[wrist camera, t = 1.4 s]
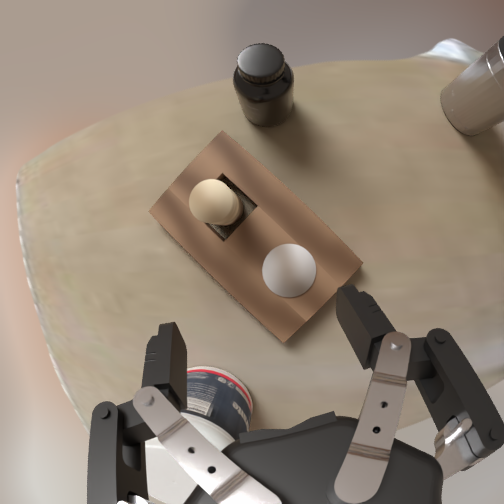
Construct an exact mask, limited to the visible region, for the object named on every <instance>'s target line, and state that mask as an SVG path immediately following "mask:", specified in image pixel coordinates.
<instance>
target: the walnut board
mask: <svg viewBox="0 0 504 504" xmlns="http://www.w3.org/2000/svg"><path fill="white" fill-rule="evenodd" d="M225 177H227V178H228V179H229V180H230V181H231V182H232V183H233V184H235V185H236V186H237V187H238V188H239V189H240V190H241V191H242V192H243V193H244V194H245V195H246V196H248V197H249V198H250V199H251V200H252V201H253V202H254V203H255V204H256V205H257V207H256V208H255V209H254V210H253V212H252V213H251V214H250V215H249V216H248V217H247V218H246V219H245V220H244V221H243V222H242V223H241V224H240V225H239V226H238V227H237V228H236V230H235V231H234V232H233V233H232V234H231V235H230V236H229V237H228V238H227V239H226V240H225V239H224V238H223V237H222V236H221V235H220V234H219V233H218V232H217V231H216V230H215V229H214V228H213V227H212V226H211V225H209V224H208V223H204V222H201V221H199V220H198V219H197V218H195V216H194V215H193V214H192V212H191V210H190V206H189V198H190V194H191V192H192V190H193V188H194V187H195V186H196V185H197V184H198V183H200V182H202V181H204V180H208V179H215V180H219V181H222V180H223V179H224V178H225ZM148 212H149V213H150V214H151V215H152V216H153V217H154V218H155V219H156V220H157V221H158V222H159V223H160V224H161V225H162V226H163V227H164V228H165V229H166V230H167V231H168V232H169V234H170V235H171V236H172V237H173V238H174V239H175V240H176V241H177V242H178V243H179V244H180V245H181V246H182V247H183V248H184V249H185V250H186V251H187V252H188V253H189V254H190V255H191V256H192V257H193V258H194V259H195V260H196V261H197V262H198V263H199V264H200V265H201V266H202V267H203V268H204V269H205V270H206V271H207V272H208V273H209V274H210V275H211V276H212V277H213V278H215V279H216V280H217V281H218V282H219V283H220V284H221V285H222V286H223V287H224V288H225V289H226V290H227V291H228V292H229V293H230V294H231V295H232V296H233V297H234V298H235V299H236V300H237V301H238V302H240V303H241V304H242V305H243V306H244V307H245V308H246V309H247V310H248V311H249V312H250V313H251V314H252V315H253V316H254V317H256V318H257V319H258V320H259V321H260V322H261V323H262V324H263V325H264V326H265V327H266V328H267V329H269V330H270V331H271V332H272V333H273V334H274V335H275V336H276V337H277V338H278V339H280V340H281V341H282V342H283V343H284V342H285V341H286V340H287V339H288V338H289V337H291V336H292V335H293V334H294V333H295V332H296V331H297V330H298V329H299V328H300V327H301V326H302V325H303V324H304V323H305V322H306V321H307V320H309V319H310V318H311V317H312V316H313V315H314V314H315V313H316V312H317V311H318V310H319V309H320V308H321V307H322V306H323V305H324V304H325V303H326V302H327V301H328V300H329V299H330V298H331V297H332V296H333V295H334V294H335V293H336V292H337V289H338V287H341V286H342V285H343V284H344V283H345V282H346V281H347V280H348V279H349V278H350V277H351V276H352V275H353V274H354V273H355V272H356V271H357V269H358V268H359V267H360V266H361V265H362V264H363V262H362V261H361V260H360V259H359V258H358V257H357V256H356V255H355V254H354V253H353V252H352V250H351V249H350V248H349V247H348V246H347V245H346V244H345V243H344V242H343V241H342V240H341V239H340V238H339V237H338V236H337V235H336V234H335V233H334V232H333V231H332V230H331V229H330V228H329V227H328V226H327V225H326V224H325V223H324V222H323V221H322V220H321V219H320V218H319V217H318V216H317V215H316V214H315V213H314V212H313V211H312V210H311V209H310V208H309V207H308V206H307V205H306V204H304V203H303V202H302V201H301V200H300V199H299V198H298V197H297V196H296V195H295V194H294V193H293V192H292V191H291V190H290V189H289V188H287V187H286V186H285V185H284V184H283V183H282V182H281V181H280V180H279V179H278V178H277V177H276V176H274V175H273V174H272V173H271V172H270V171H269V170H268V169H267V168H266V167H264V166H263V165H262V164H261V163H260V162H259V161H258V160H256V159H255V158H254V157H253V156H252V155H251V154H250V153H248V152H247V151H246V150H245V149H244V148H243V147H242V146H240V145H239V144H238V143H237V142H236V141H234V140H233V139H232V138H231V137H230V136H229V135H227V134H226V133H225V132H224V131H221V132H220V133H219V134H218V135H217V136H216V137H215V138H214V139H213V140H212V141H211V142H210V143H209V144H208V145H207V146H206V147H205V148H204V149H203V150H202V151H201V152H200V153H199V154H198V156H197V157H196V158H195V159H194V160H193V161H192V162H191V163H190V164H189V165H188V166H187V167H186V168H185V170H184V171H183V172H182V173H181V174H180V175H179V176H178V177H177V178H176V180H175V181H174V182H173V183H172V184H171V185H170V186H169V188H168V189H167V190H166V191H165V192H164V193H163V195H162V196H161V197H160V198H159V199H158V200H157V202H156V203H155V204H154V205H153V206H152V208H151V209H150V210H149V211H148Z"/></svg>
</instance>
